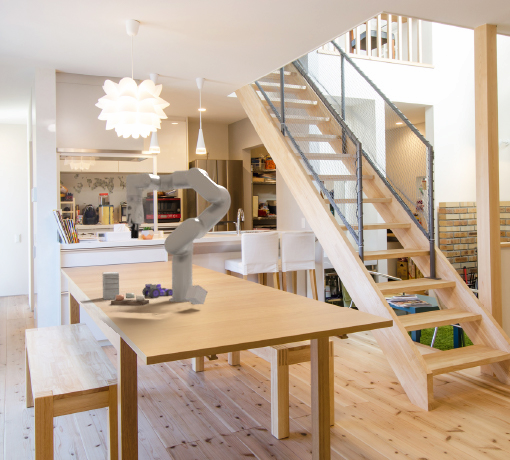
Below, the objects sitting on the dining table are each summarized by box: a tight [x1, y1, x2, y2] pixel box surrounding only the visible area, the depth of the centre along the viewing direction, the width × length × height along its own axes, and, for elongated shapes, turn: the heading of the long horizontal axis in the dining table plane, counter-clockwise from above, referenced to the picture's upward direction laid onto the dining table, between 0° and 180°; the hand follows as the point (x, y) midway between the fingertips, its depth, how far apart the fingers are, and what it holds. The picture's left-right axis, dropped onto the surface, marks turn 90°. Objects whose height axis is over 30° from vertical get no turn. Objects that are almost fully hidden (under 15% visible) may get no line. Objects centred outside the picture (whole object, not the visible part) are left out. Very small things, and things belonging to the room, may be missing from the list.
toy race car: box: [141, 283, 172, 299], centre depth 241 cm, size 10×15×6 cm, turn 131°
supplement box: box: [102, 271, 120, 301], centre depth 233 cm, size 7×7×13 cm
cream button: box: [135, 294, 146, 301], centre depth 213 cm, size 4×4×2 cm
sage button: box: [125, 292, 135, 299], centre depth 214 cm, size 4×4×2 cm
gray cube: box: [185, 284, 208, 305], centre depth 208 cm, size 6×6×6 cm
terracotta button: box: [115, 294, 125, 300], centre depth 215 cm, size 4×4×2 cm
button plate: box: [110, 298, 150, 306], centre depth 214 cm, size 16×6×2 cm, turn 77°
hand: (134, 238), depth 231 cm, fingers closed
